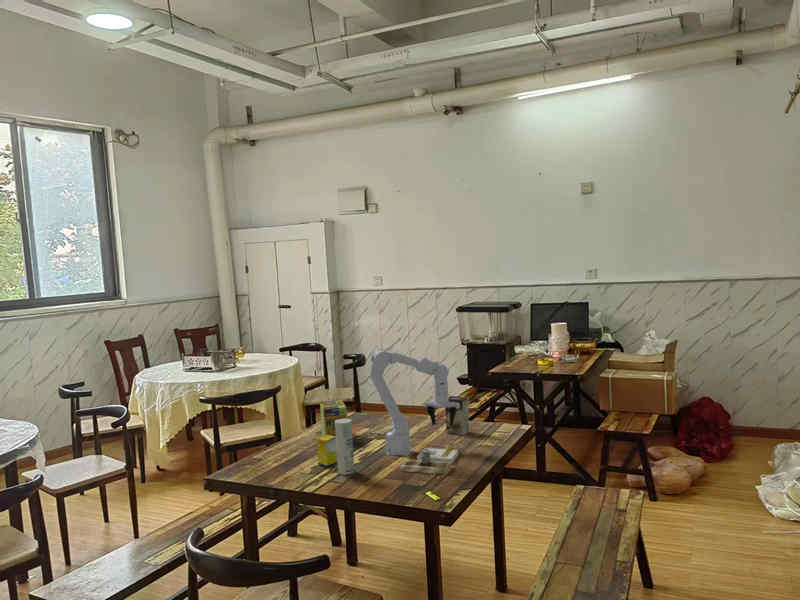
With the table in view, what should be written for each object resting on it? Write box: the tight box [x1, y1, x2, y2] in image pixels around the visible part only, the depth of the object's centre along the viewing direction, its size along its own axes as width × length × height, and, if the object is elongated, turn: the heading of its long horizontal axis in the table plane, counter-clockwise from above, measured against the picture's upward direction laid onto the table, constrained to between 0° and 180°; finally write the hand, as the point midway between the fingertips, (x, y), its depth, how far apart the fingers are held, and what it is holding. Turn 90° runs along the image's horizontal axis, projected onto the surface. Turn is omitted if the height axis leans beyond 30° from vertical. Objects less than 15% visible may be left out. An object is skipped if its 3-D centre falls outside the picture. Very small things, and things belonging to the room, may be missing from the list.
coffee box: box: [444, 395, 470, 436], centre depth 280 cm, size 9×6×16 cm
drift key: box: [442, 443, 456, 457], centre depth 246 cm, size 4×11×4 cm, turn 161°
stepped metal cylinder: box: [422, 449, 431, 467], centre depth 233 cm, size 3×3×8 cm
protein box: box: [319, 399, 348, 437], centre depth 283 cm, size 10×15×16 cm
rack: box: [400, 459, 452, 475], centre depth 233 cm, size 18×7×2 cm, turn 71°
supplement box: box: [316, 435, 338, 468], centre depth 247 cm, size 6×6×11 cm
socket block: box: [416, 447, 459, 465], centre depth 245 cm, size 14×11×2 cm
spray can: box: [335, 418, 355, 476], centre depth 236 cm, size 6×6×20 cm
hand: (442, 424), depth 257 cm, fingers open, 7 cm apart
